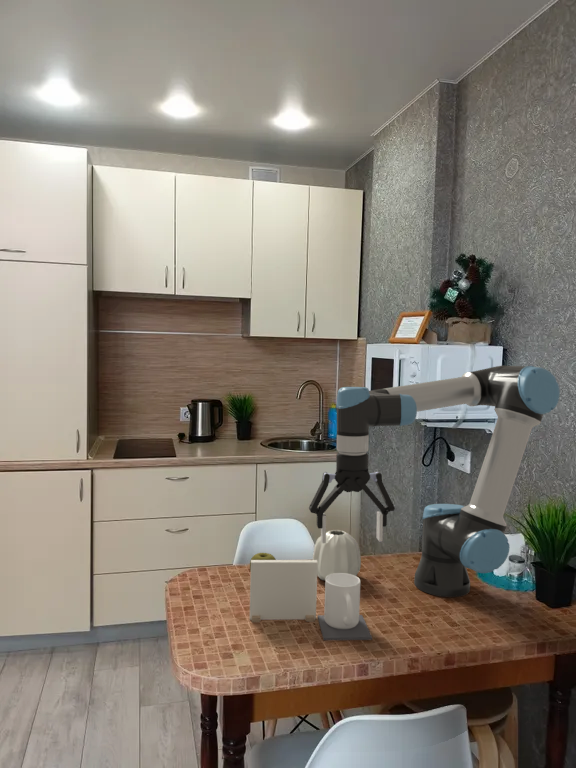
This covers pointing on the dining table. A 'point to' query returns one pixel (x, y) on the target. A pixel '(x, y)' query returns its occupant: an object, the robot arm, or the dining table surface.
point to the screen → (283, 590)
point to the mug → (342, 600)
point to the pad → (345, 631)
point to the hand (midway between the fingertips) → (351, 540)
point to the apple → (262, 557)
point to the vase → (337, 554)
